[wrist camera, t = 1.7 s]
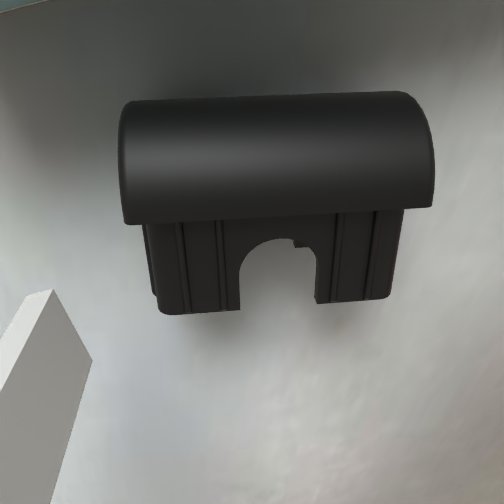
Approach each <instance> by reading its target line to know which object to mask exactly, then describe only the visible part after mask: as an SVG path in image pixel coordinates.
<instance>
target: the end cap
mask: <svg viewBox="0 0 504 504" xmlns="http://www.w3.org/2000/svg"><path fill="white" fill-rule="evenodd" d="M118 172H119V186H120V195H121V204H122V211H123V218H124V223H125V224H127V225H142V229H143V236H144V242H145V249H146V255H147V261H148V268H149V274H150V281H151V287H152V292H153V294H154V295H155V296H156V297H157V303H158V309H159V310H160V312H162V313H164V314H167V315H182V314H195V313H208V312H221V311H234V310H240V293H239V270H240V267H241V264H242V262H243V260H244V258H245V257H246V255H247V254H248V253H249V252H250V251H251V250H252V249H254V248H255V247H256V246H258V245H260V244H261V243H263V242H266V241H269V240H272V239H279V238H288V239H293V244H294V246H295V248H301V247H309V248H310V249H311V250H312V251H313V252H314V254H315V256H316V279H315V295H314V298H315V300H316V303H317V304H325V303H338V302H351V301H364V300H377V299H384V298H386V297H388V296H389V295H390V292H391V287H392V281H393V274H394V268H395V262H396V256H397V250H398V244H399V238H400V232H401V226H402V220H403V214H404V209H411V208H427V207H431V206H432V201H433V194H434V184H435V159H434V148H433V142H432V135H431V132H430V128H429V125H428V121H427V119H426V117H425V114H424V112H423V110H422V108H421V107H420V105H419V104H418V103H417V101H416V100H415V99H414V98H413V97H412V96H410V95H409V94H407V93H406V92H400V91H379V92H352V93H326V94H299V95H272V96H246V97H219V98H192V99H166V100H139V101H131V102H129V103H127V104H126V105H125V106H124V108H123V110H122V113H121V117H120V122H119V131H118Z"/></svg>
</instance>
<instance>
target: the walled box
mask: <svg viewBox="0 0 504 504" xmlns="http://www.w3.org/2000/svg"><path fill="white" fill-rule="evenodd" d="M43 1H47V0H0V13H2V12H5V11H9V10H13V9H17V8H21V7H24V6H28V5H32V4H36V3H39V2H43Z"/></svg>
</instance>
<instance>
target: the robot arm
mask: <svg viewBox="0 0 504 504" xmlns="http://www.w3.org/2000/svg"><path fill="white" fill-rule="evenodd" d="M91 364H92V359H91V357H90V355H89V353H88V351H87V349H86V348H85V346H84V344H83V342H82V340H81V339H80V337H79V335H78V333H77V331H76V329H75V328H74V326H73V324H72V322H71V320H70V318H69V317H68V315H67V313H66V311H65V309H64V307H63V306H62V304H61V302H60V300H59V298H58V297H57V295H56V293H55V291H54V289H50V290H46V291H42V292H39V293H35V294H31V295H27V296H26V298H25V299H24V301H23V303H22V304H21V306H20V308H19V309H18V311H17V313H16V315H15V316H14V318H13V320H12V321H11V323H10V325H9V326H8V328H7V330H6V331H5V333H4V335H3V336H2V338H1V340H0V504H50V502H51V499H52V495H53V492H54V489H55V485H56V482H57V478H58V475H59V472H60V468H61V465H62V462H63V458H64V455H65V451H66V448H67V445H68V441H69V438H70V435H71V431H72V428H73V424H74V421H75V418H76V414H77V411H78V408H79V404H80V401H81V398H82V394H83V391H84V387H85V384H86V381H87V377H88V374H89V371H90V367H91Z"/></svg>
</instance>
